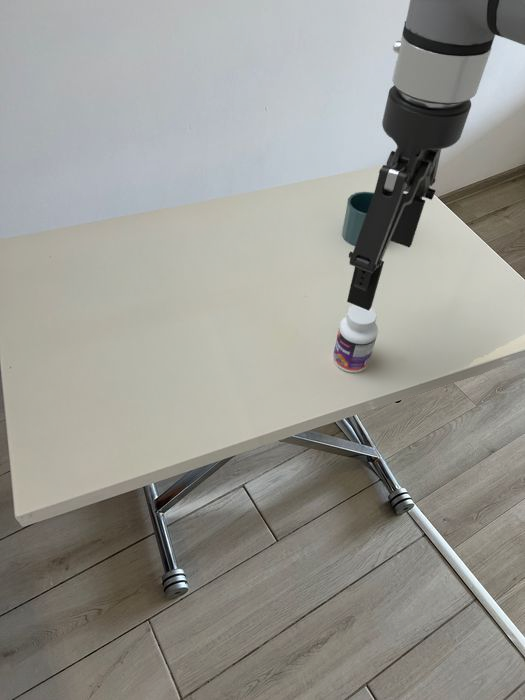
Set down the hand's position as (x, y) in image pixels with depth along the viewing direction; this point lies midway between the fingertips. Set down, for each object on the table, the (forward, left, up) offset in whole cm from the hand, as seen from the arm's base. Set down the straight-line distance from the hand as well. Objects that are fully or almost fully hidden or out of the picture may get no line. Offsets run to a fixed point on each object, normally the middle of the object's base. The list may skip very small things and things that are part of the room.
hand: (381, 271), depth 64 cm
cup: (+12, -32, -19) cm, 39 cm away
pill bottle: (+1, -2, -19) cm, 19 cm away
